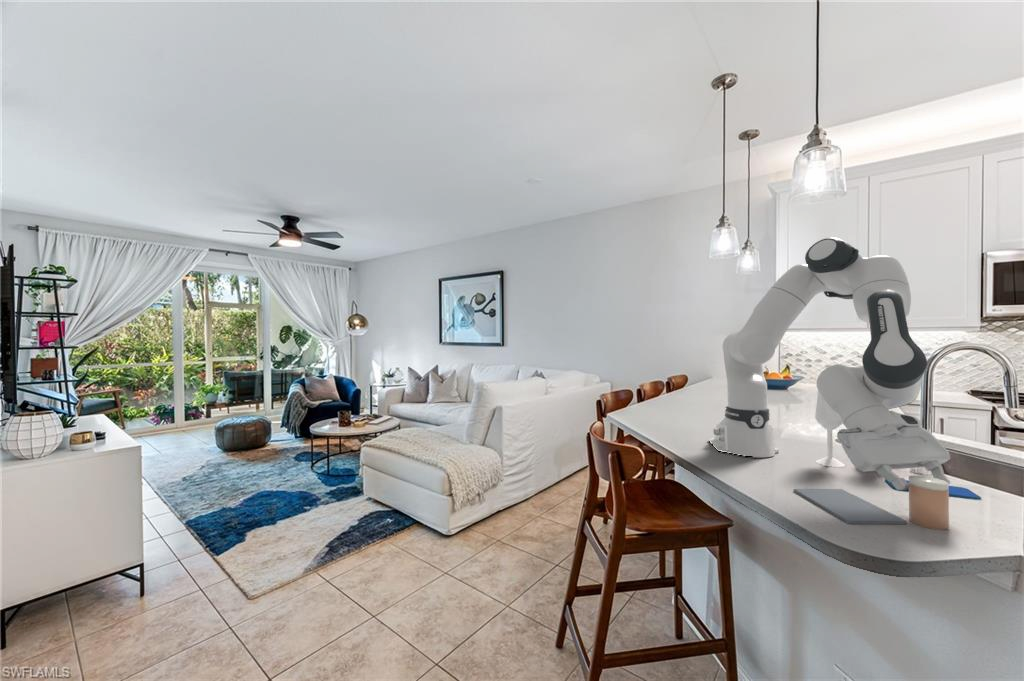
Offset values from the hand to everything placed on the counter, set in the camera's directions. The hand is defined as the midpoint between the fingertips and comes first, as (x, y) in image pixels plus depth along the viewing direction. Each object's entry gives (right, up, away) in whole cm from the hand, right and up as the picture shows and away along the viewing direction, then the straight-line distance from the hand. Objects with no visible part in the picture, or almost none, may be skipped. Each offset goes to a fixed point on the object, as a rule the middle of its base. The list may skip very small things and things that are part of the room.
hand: (924, 486), depth 81 cm
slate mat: (-10, -7, +7) cm, 14 cm away
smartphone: (+18, -7, +16) cm, 25 cm away
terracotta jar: (0, -7, -1) cm, 7 cm away
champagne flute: (+10, -7, +37) cm, 38 cm away
